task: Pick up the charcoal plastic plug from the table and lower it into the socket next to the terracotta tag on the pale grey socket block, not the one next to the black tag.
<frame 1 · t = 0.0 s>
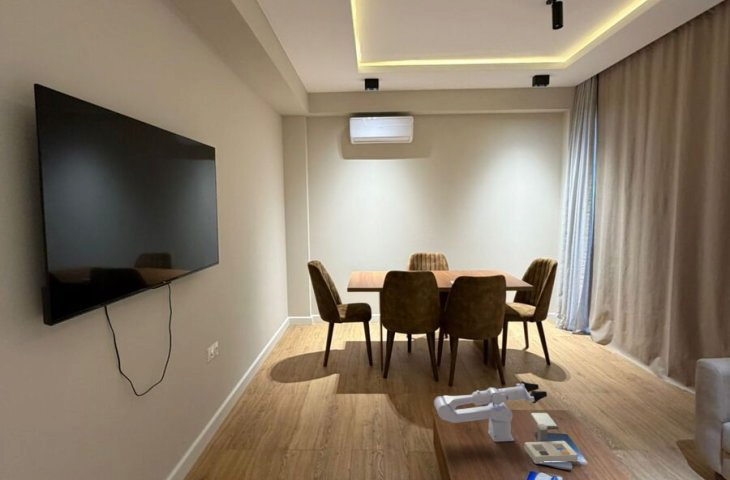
hand: (542, 390, 176), 22 cm above the table, tool horizontal, fingers open, 7 cm apart
socket block: (550, 455, 162), on the table
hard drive: (544, 422, 189), on the table
plug: (542, 442, 171), on the table
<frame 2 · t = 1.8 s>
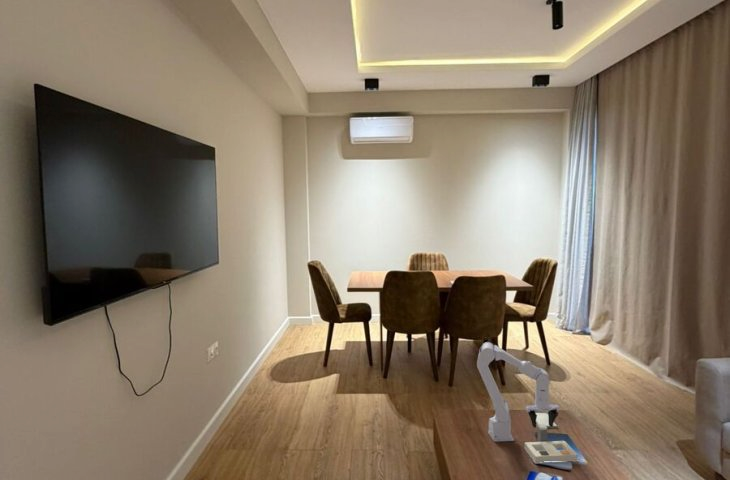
hand: (542, 426, 171), 8 cm above the table, tool pointing down, fingers open, 7 cm apart
nothing on the table moved.
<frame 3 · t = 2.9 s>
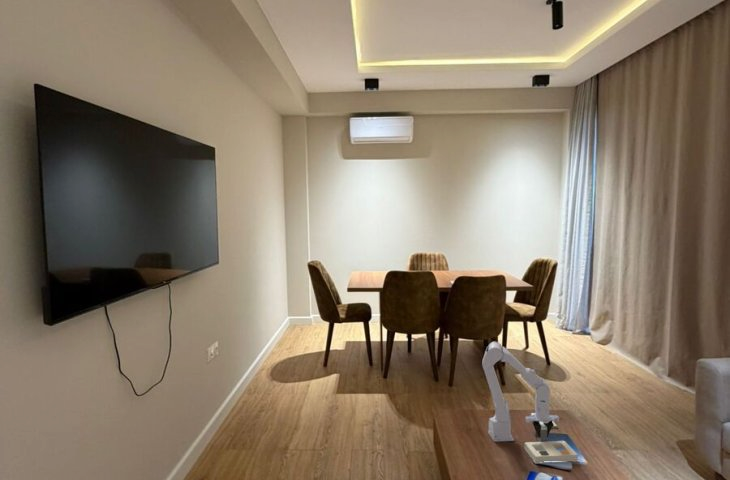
hand: (542, 436, 171), 3 cm above the table, tool pointing down, fingers closed on plug, 3 cm apart
plug: (542, 442, 171), on the table, touching gripper
everything else where it was.
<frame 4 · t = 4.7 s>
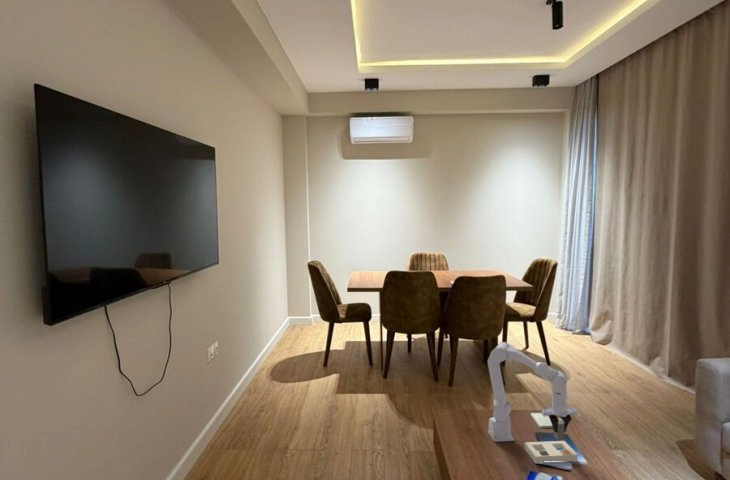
hand: (559, 431, 163), 10 cm above the table, tool pointing down, fingers closed on plug, 3 cm apart
plug: (559, 437, 163), point 7 cm above the table, touching gripper
everything else where it was.
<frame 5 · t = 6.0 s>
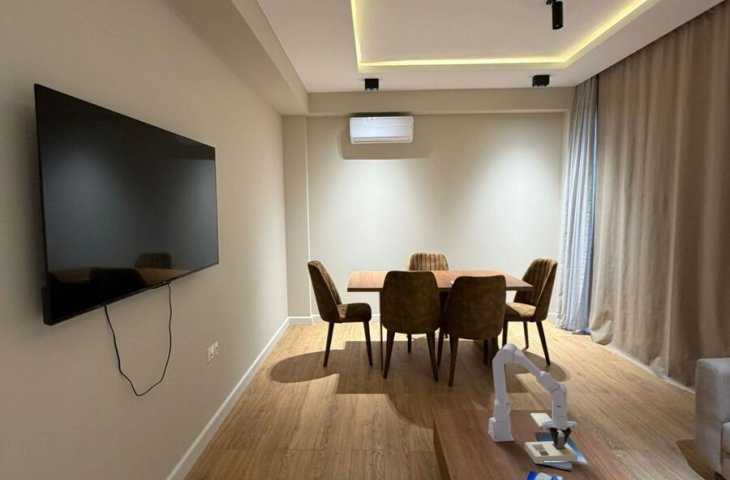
hand: (559, 443, 163), 4 cm above the table, tool pointing down, fingers closed on plug, 3 cm apart
plug: (559, 450, 163), point 1 cm above the table, touching gripper
everything else where it was.
when the fingers open (4 cm above the table, at t = 6.8 s): plug stays where it is, resting in socket block.
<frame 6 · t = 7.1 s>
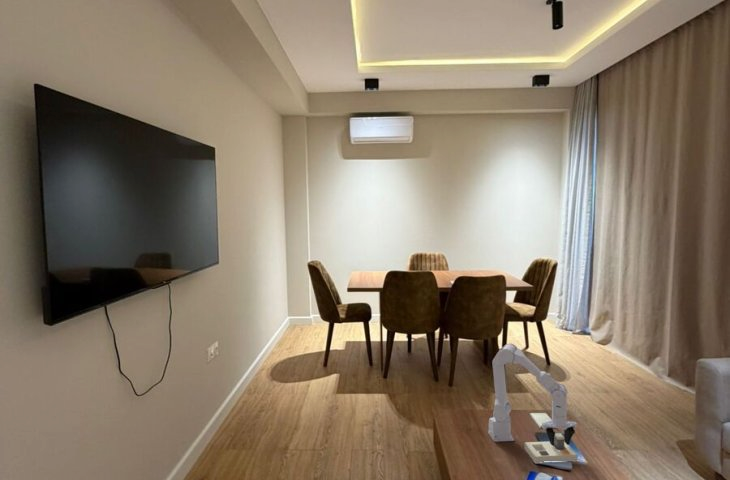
hand: (559, 443, 163), 4 cm above the table, tool pointing down, fingers open, 6 cm apart
plug: (559, 453, 163), resting in socket block
everything else where it was.
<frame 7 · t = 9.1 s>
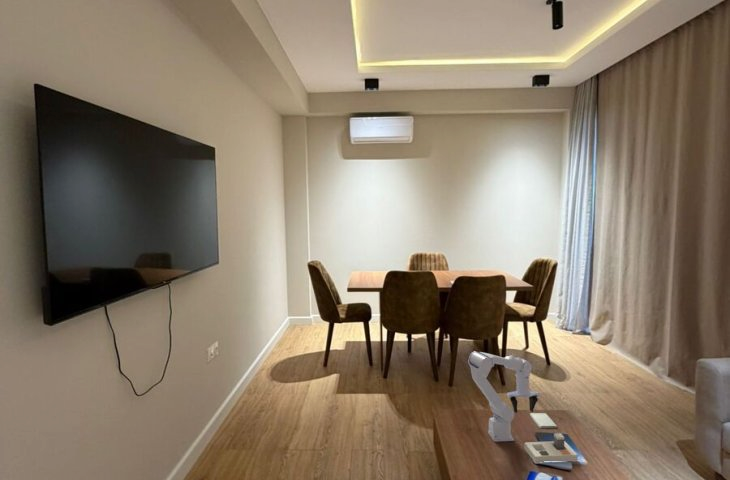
hand: (523, 411, 181), 10 cm above the table, tool pointing down, fingers open, 7 cm apart
nothing on the table moved.
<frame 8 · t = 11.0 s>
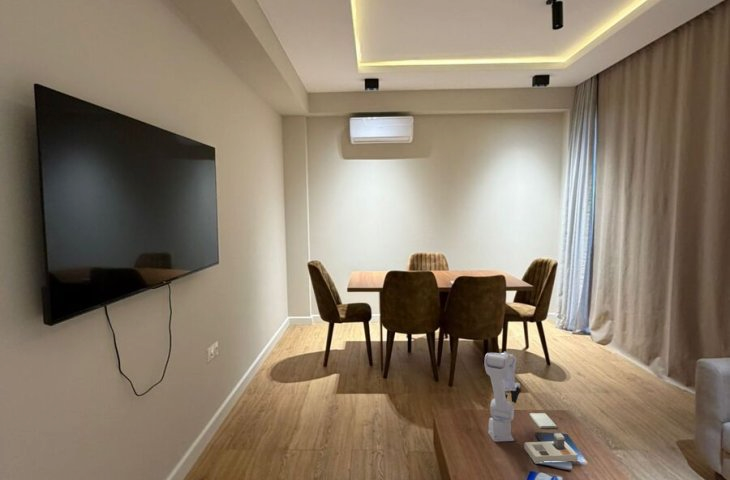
hand: (508, 404, 188), 9 cm above the table, tool pointing down, fingers open, 7 cm apart
nothing on the table moved.
at the end: plug 0.2 cm from the target spot on the socket block, point 0.0 cm above the socket block's base; plug tilted 0°; the gripper is holding nothing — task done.
